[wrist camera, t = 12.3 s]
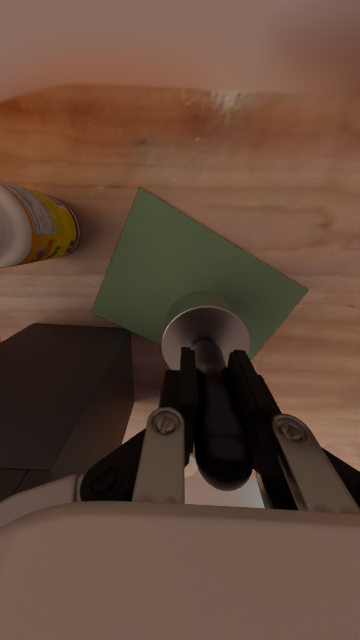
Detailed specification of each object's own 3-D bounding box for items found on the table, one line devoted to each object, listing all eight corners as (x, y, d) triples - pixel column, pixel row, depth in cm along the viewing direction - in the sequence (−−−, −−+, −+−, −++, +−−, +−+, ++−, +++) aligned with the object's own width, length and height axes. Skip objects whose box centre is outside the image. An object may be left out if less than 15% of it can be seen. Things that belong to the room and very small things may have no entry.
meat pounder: (153, 338, 17) (102, 504, 7) (187, 276, 15) (192, 379, 4) (212, 366, 18) (250, 549, 8) (252, 312, 16) (381, 465, 6)
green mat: (92, 310, 24) (90, 312, 23) (140, 187, 19) (139, 186, 18) (233, 377, 27) (234, 380, 27) (305, 288, 22) (308, 290, 22)
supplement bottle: (41, 260, 22) (-70, 281, 12) (16, 201, 19) (-143, 171, 10) (90, 251, 21) (14, 266, 12) (70, 190, 19) (-42, 148, 10)
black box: (52, 397, 29) (-168, 672, 11) (32, 323, 25) (-416, 589, 6) (134, 402, 29) (50, 684, 11) (130, 328, 25) (-30, 610, 6)
